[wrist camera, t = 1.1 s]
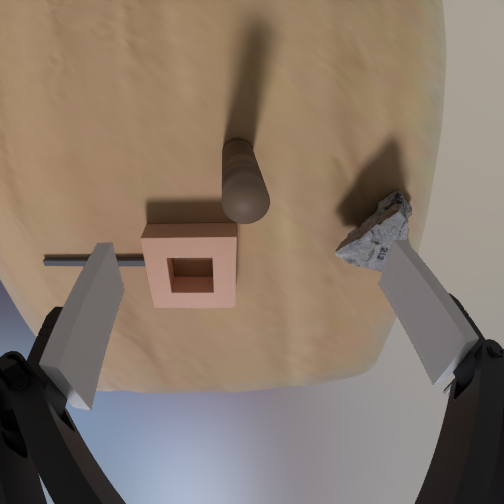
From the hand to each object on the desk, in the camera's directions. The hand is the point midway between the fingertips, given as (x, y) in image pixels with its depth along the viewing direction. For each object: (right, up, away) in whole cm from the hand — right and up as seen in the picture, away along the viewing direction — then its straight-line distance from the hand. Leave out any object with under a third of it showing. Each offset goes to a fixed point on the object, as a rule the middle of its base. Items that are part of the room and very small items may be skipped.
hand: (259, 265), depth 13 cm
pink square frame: (-7, 0, +22) cm, 23 cm away
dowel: (-2, +10, +15) cm, 18 cm away
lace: (-20, -1, +20) cm, 29 cm away
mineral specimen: (+14, +4, +21) cm, 26 cm away
